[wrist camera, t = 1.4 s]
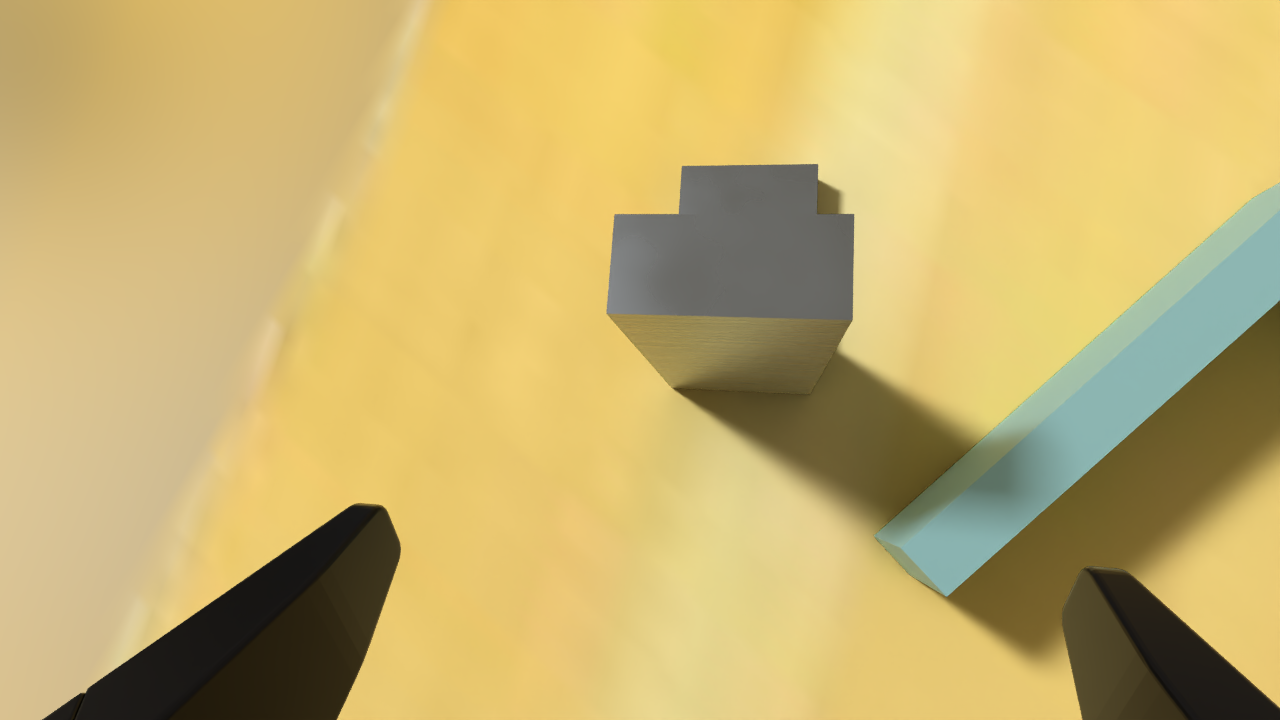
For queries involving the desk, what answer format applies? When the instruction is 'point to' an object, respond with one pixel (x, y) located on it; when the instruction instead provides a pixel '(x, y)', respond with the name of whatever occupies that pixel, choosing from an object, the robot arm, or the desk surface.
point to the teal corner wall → (1092, 401)
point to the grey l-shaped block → (736, 280)
